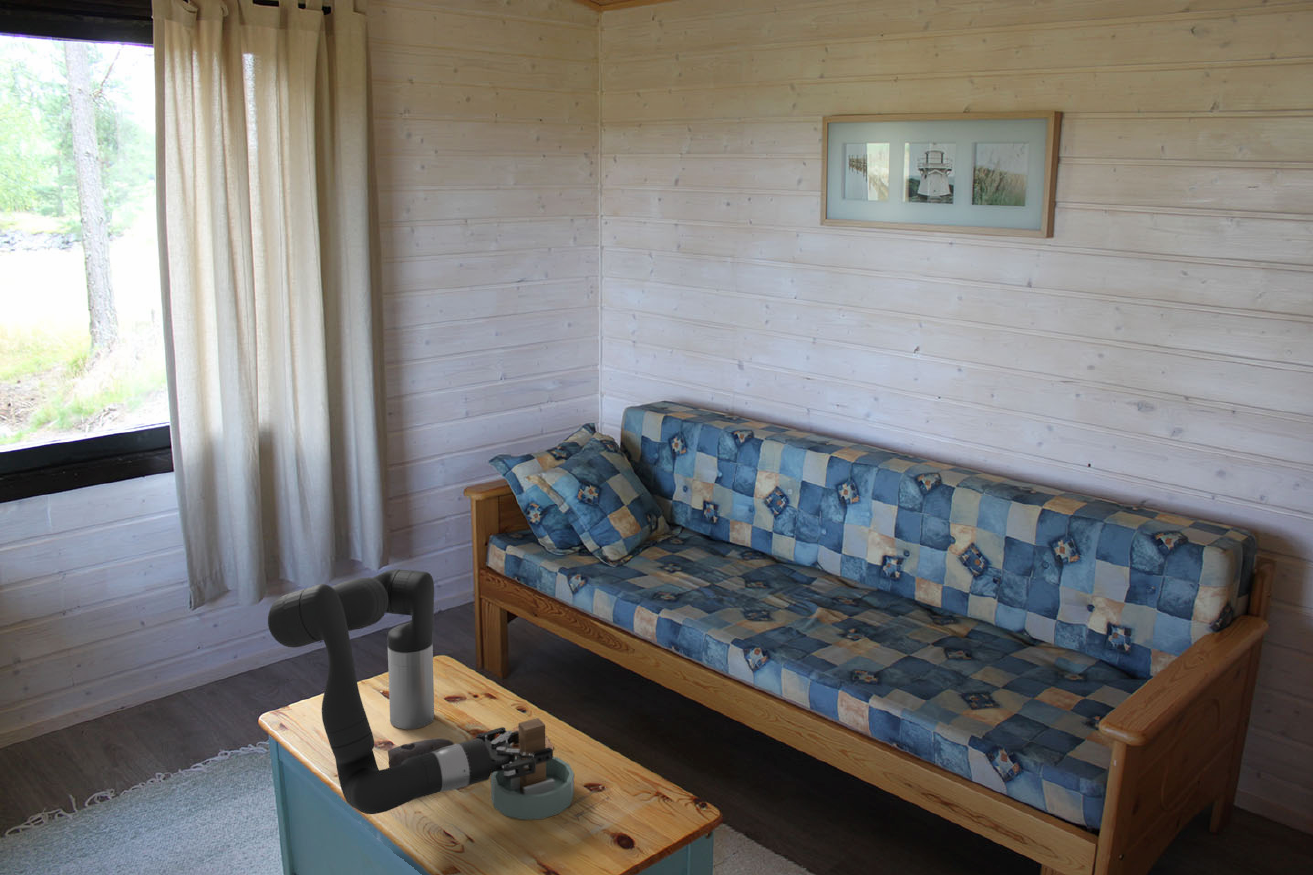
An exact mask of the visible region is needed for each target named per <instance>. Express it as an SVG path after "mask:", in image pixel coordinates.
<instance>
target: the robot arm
mask: <svg viewBox="0 0 1313 875" xmlns="http://www.w3.org/2000/svg"><path fill="white" fill-rule="evenodd" d="M434 605H435V582H434V578H433V576H432V575H431V573H430V572H427V571H421V570H412V569H397V568H395V569H389V570H385V571H384V572H381V573H379V574H377V575H376V576H373V577H369V576H368V577H363V578H362V577H360V578H359V577H358V578H354V579H350V580H347V581H344V582H341V583H337V584H335V585H333V586H331V585H330V584H325V583H321V584H316V585H313V586H310V587H305V588H303V589H300V590H296V591H293V592H290V593H287V594H285V595H282V596H280V597H279V598H277V599H276V600H275V601H274V602H273V603H272V605H271V606H270V609H269V612H268V616H267V625H268V630H269V632H270V635H271V636H272V638H274V640H275V641H276V642H278V643H279V645H282V646H284V647H287V648H293V649H294V648H300V647H302V648H303V647H305V646H307V645H310V644H314V643H317V642H322V641H323V642H324V645H325V648H326V651H327V652H326V653H327V656H328V672H327V677H326V678H327V679H326V683H325V689H324V693H323V697H322V703H321V719H322V724H323V727H324V730H325V733H326V736H327V740H328V743H329V745H330V748H331V751H332V754H333V757H334V759H335V765H336V772H337V776H338V782H339V786H340V787H341V789H340V790H341V792H342V795H343V797H344V799H345V801H346V803H347V804H348V805H349V806H351V807H352V808H354V809H356V810H357V811H359V812H360V813H362V814H365V815H377V814H381V813H385V812H388V811H391V810H393V809H395V808H398V807H401V806H403V805H405V804H407V803H409V802H411V801H413V800H415V799H418V798H419V799H420V798H423V797H427V796H431V795H435V794H438V793H443V792H448V791H454V790H457V789H461V788H464V787H469V786H471V785H474V784H475V785H476V784H478V783H479V784H480V783H482V782H485V781H487V780H489V779H490V778H491V775H492V773H493V772H496V771H502V772H503V773H504V779H505V780H509V779H513V778H517V777H521V776H525V775H529V774H533V773H535V772H536V764H539V763H542V762H546V761H549V760H551V759H552V758H553V757H554V749H553V750H552V749H551V748H550V747H548V748H545V749H541V750H538V751H534V752H533V753H532V752H523V751H522V750H521V749H514V748H512V747H510V746H511V745H512V744H513V743H514V744H518V743H519V731H512V730H507V729H506V727H498V728H495V729H492V730H488V731H483V732H481V733H477V734H476V735H475V738H474V739H470V740H466V741H462V742H458V743H454V745H450V746H447V747H443V748H441V749H438V750H436V751H433V752H429V753H426V754H422V755H418V756H415V757H411V758H409V759H406V760H404V761H403V762H402V763H401V765H398V766H394V767H391V768H389V767H388V768H384V769H380V768H379V766H378V763H377V761H376V756H375V753H374V750H373V749H374V748H375V737H374V734H373V731H372V728H371V726H370V722H369V719H368V716H367V714H366V710H365V707H364V705H363V701H362V698H361V693H360V689H359V686H358V685H359V684H358V680H357V674H356V668H355V662H354V655H353V650H352V649H353V648H352V645H351V640H350V633H349V632H350V631H354V630H355V631H356V630H360V629H364V628H367V627H370V626H372V625H374V624H376V623H378V622H379V621H381V620H382V619H383V618H384V616H385V615H386V614H391V615H392V614H393V615H401V616H402V615H403V616H411V621H410V622H406V623H403V624H399V625H397V626H394V627H392V629H390V630H389V631H388V633H387V638H386V639H387V640H386V641H387V642H386V643H387V660H388V662H387V664H388V696H389V697H388V698H389V699H388V700H389V721H390V724H391V725H392V726H393V727H395V728H399V729H400V730H401V729H403V730H413V729H419V728H420V729H421V728H424V727H425V726H428V725H430V724H431V723H432V722H433V721H434V719H435V692H434V691H435V690H434V687H435V686H434V655H433V652H434V651H433V650H434V648H433V633H434V620H435V619H434V617H435V616H434V609H435V608H434V607H435V606H434ZM496 735H498V736H497V737H496V738H495V736H496ZM515 755H516V756H517V762H514V761H515ZM522 758H528V759H525V760H522ZM524 768H529V769H525V770H524Z"/></svg>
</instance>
